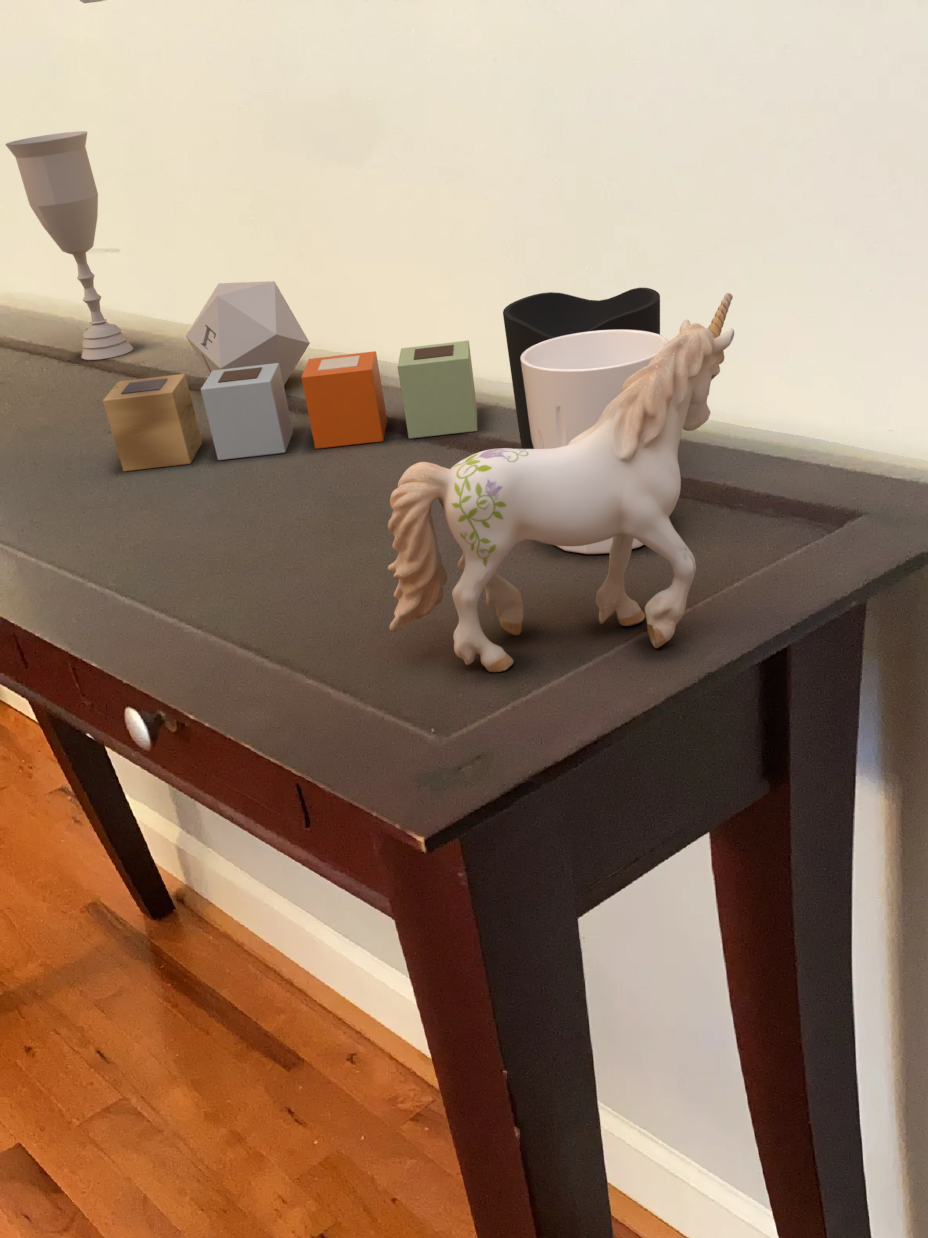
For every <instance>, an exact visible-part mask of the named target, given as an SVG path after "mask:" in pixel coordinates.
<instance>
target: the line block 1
mask: <svg viewBox="0 0 928 1238" xmlns="http://www.w3.org/2000/svg"><path fill="white" fill-rule="evenodd" d="M102 403H103V407H104V410H105V413H106V417H107V420H108V424H109V427H110V430H111V435H112V438H113V442H114V444H115V448H116V451H117V454H118V459H119V461H120V465H121V468H122V471H123V472H131V471H141V470H148V469H157V468H166V467H174V466H183V465H191V464H192V462H193V460H194V458H196V455H197V453H198V452H199V450H200V448H201V446H202V444H203V440H202V435H201V431H200V428H199V424H198V423H199V422H198V420H197V416H196V412H195V408H194V404H193V399H192V396H191V392H190V388H189V384H188V380H187V376H186V373H179V374H170V375H161V376H154V377H153V376H152V377H146V378H145V377H143V378H135V379H127V380H119V381H118V382H117V383H116V384H115V385H114V386H113V388H112V389H111V390H110V391H109V392H108V394H106V396H105V397H104V398H103V399H102Z"/></svg>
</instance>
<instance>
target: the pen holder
mask: <svg viewBox="0 0 928 1238" xmlns="http://www.w3.org/2000/svg"><path fill="white" fill-rule="evenodd" d="M502 316H503V323H504V332H505V339H506V345H507V346H506V347H507V354H508V361H509V367H510V375H511V383H512V390H513V398H514V404H515V411H516V421H517V426H518V434H519V439H520V448H521V449H534V447H533V444H532V440H531V432H530V424H529V417H528V409H527V402H526V395H525V388H524V380H523V373H522V366H521V359H520V358H521V355H522V353H523V352H524V351H525V350H526V349H528V348H530V347H531V346H533V345H535V344H538V343H540V342H543V341H546V340H549V339H552V338H556V337H560V336H564V335H569V334H575V333H581V332H588V331H598V330H640V331H648V332H652V333H656V334H659V335H661V294H660V293H659V292H658V291H657V290H655V289H653V288H651V287H635V288H631V289H629V290H626V291H624V292H622V293H619V294H617V295H614V296H612V297H609V298H606V299H600V300H596V299H587V298H583V297H579V296H575V295H572V294H568V293H563V292H555V291H554V292H553V291H552V292H551V291H550V292H549V291H548V292H540V293H536V294H532V295H529V296H525V297H523V298H520V299H518V300H515V301H513V302H511V303H509V304H508V305H506V307H504V308H503V311H502Z"/></svg>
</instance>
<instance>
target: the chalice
mask: <svg viewBox="0 0 928 1238" xmlns="http://www.w3.org/2000/svg"><path fill="white" fill-rule="evenodd" d="M87 138H88V131H85V130H84V131H83V130H82V131H81V130H79V131H67V132H59V133H52V134H51V133H50V134H44V135H38V136H31V137H27V138H22V139H17V140H13V141H9V142H7V143H5V144H4V145H5V146H6V147H7V149H8V150H9V151H10V152H11V154H12V155H13V156H14V157H15V160H16V164H17V167H18V171H19V173H20V177H21V181H22V184H23V188H24V190H25V194H26V198H27V201H28V204H29V206H30V208H31V210H32V212H33V213H34V215H35V216H36V219H37V220H38V221H39V223H40V224H41V226H42V227H43V228H44V230H45V231H46V232H47V234H48V235H49V237H51V239H52V241H54V243H55V244H56V246H58V248H59V249H60V250H61V252H62V253H66V254H69V255H72V256H73V258H74V261H75V262H76V265H77V280H78V282H80V283H81V285H82V287H83V291H84V295H83V298H82V301H83V302H84V303H85V304H86V305H87V307H88V309H89V311H90V316H91V321H90V322H89V324H91V325H90V326H89V327H87V328H85V329H84V331H83V335H82V338H83V340H82V344H81V348H82V352H81V357H80V358H81V359H83V360H86V361H92V360H93V361H95V360H104V359H111V358H115V357H119V356H123V355H126V354H128V353H131V352H132V351H133V350H134V347H133V346H132V345H131V343H130V342H129V341H128V340H127V336H126V335H125V334H124V333H123V332H122V329H121V328H120V327H119V326H118V325H116V324H115V323H109V322H107V321H108V319H106V318H105V317H104V314H103V313H102V311H101V303H100V301H101V299H102V296H101V295H100V294H99V293H98V292H97V290H96V288H95V284H94V279H95V277H96V275H95V274H94V273H93V271H92V270H91V268H90V266H89V264H88V260H87V252H89V251H90V250H91V249H92V248H93V247H94V246H95V245H94V244H95V237H96V229H97V223H98V215H99V214H98V213H99V212H98V211H99V210H98V209H99V192H98V188H97V185H96V181H95V178H94V177H95V176H94V174H93V170H92V167H91V166H92V165H91V163H90V159H89V154H88V152H87V147H86V145H87Z"/></svg>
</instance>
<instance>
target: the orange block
mask: <svg viewBox="0 0 928 1238" xmlns="http://www.w3.org/2000/svg"><path fill="white" fill-rule="evenodd" d="M301 383H302V388H303V393H304V398H305V404H306V409H307V413H308V419H309V423H310V428H311V434H312V439H313V444H314V448H315V450H319V449H329V448H337V447H346V446H352V445H354V446H356V445H363V444H371V443H373V444H374V443H382V442H384V440H385V435H386V430H387V425H388V417H387V411H386V404H385V399H384V392H383V386H382V379H381V373H380V368H379V361H378V354H377V351H366V352H365V351H364V352H355V353H348V354H341V355H340V354H339V355H331V356H321V357H314V358H313V357H312V358H308V360H307V363H306V365H305V367H304V370H303V372H302V374H301Z"/></svg>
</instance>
